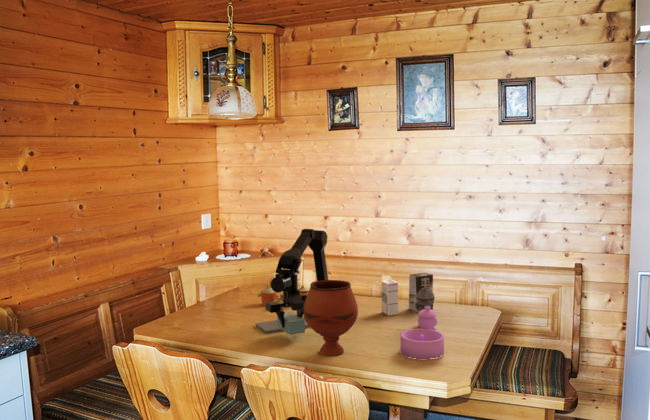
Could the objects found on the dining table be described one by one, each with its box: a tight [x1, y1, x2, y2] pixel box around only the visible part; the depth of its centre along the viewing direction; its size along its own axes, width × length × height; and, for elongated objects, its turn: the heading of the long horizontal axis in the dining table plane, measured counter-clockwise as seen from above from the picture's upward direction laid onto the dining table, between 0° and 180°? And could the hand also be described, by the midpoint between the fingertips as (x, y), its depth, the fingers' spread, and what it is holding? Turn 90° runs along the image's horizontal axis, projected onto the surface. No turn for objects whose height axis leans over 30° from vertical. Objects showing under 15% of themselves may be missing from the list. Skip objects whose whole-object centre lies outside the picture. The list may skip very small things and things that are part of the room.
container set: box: [399, 306, 445, 360], centre depth 208 cm, size 25×15×13 cm, turn 162°
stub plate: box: [255, 315, 311, 335], centre depth 237 cm, size 20×12×4 cm, turn 117°
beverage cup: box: [417, 278, 436, 313], centre depth 235 cm, size 7×7×20 cm
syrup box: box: [381, 279, 399, 316], centre depth 254 cm, size 6×6×14 cm
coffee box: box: [408, 272, 434, 313], centre depth 260 cm, size 9×6×16 cm
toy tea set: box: [257, 285, 309, 310], centre depth 274 cm, size 26×16×10 cm, turn 143°
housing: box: [277, 311, 306, 336], centre depth 222 cm, size 6×12×5 cm, turn 27°
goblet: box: [303, 279, 359, 357], centre depth 204 cm, size 19×19×25 cm
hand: (291, 326), depth 222 cm, fingers closed on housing, 6 cm apart
